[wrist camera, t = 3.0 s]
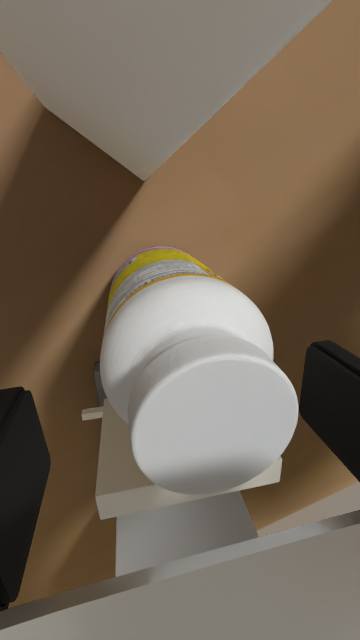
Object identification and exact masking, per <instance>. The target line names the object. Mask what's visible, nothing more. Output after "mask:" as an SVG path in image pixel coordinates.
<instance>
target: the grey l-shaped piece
mask: <svg viewBox="0 0 360 640" xmlns="http://www.w3.org/2000/svg"><path fill="white" fill-rule="evenodd" d="M93 372H94V378H95V383H96V388H97V393H98V398H99V404H100V407H102V406H104V399H107V396H106V394H105V392H104V389H103V386H102V381H101V376H100V362H97V363H95V365H94V371H93ZM254 538H258V534H257V532H256V529H255V527H254V524H253V522H252V519H251V517H250V514H249V512H248V510H247V507H246V505H245V502H244V500H243V497H242V495H241V492H240V490H239V491H235V492H230V493H225V494H221V495H216V496H211V497H206V498H202V499H197V500H192V501H188V502H183V503H178V504H174V505H169V506H164V507H160V508H155V509H150V510H145V511H141V512H136V513H131V514H127V515H122V516H117V523H116V577H118V576H121V575H125V574H128V573H132V572H135V571H139V570H143V569H146V568H150V567H153V566H157V565H160V564H164V563H168V562H171V561H175V560H178V559H182V558H186V557H189V556H193V555H196V554H200V553H203V552H207V551H211V550H214V549H218V548H221V547H225V546H229V545H232V544H236V543H240V542H243V541H247V540H251V539H254Z"/></svg>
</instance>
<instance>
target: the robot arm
mask: <svg viewBox="0 0 360 640" xmlns="http://www.w3.org/2000/svg"><path fill="white" fill-rule="evenodd" d="M299 411H300V415H301V417H302V418H303V419H304V420H305V421H306V423H307V424H308V425H309V426H310V427H311V428H312V429H313V430H314V432H315V433H316V434H317V435H318V436H319V437H320V438H321V439H322V440H323V442H324V443H325V444H326V445H327V446H328V447H329V448H330V449H331V451H332V452H333V453H334V454H335V455H336V456H337V457H338V458H339V459H340V461H341V462H342V463H343V464H344V465H345V466H346V467H347V468H348V470H349V471H350V472H351V473H352V474H353V475H354V476H355V477H356V478H357V480H358V481H359V482H360V358H358V357H356V356H355V355H353V354H351V353H350V352H348V351H347V350H345V349H343V348H342V347H340V346H338V345H337V344H335V343H333V342H332V341H330V340H326V341H319V342H313V343H312V344H311V345H310V347H308V348H307V351H306V358H305V365H304V373H303V381H302V389H301V397H300V404H299ZM49 470H50V455H49V452H48V448H47V445H46V441H45V438H44V434H43V431H42V427H41V424H40V421H39V417H38V414H37V410H36V407H35V403H34V400H33V397H32V393H31V392H30V391H29V390H27V391H25V390H24V388H23V387H15V388H8V389H2V390H0V640H360V510H358V511H354V512H351V513H346V514H343V515H339V516H335V517H331V518H328V519H324V520H321V521H317V522H313V523H310V524H306V525H302V526H299V527H295V528H291V529H287V530H284V531H280V532H276V533H273V534H269V535H265V536H262V537H258V538H254V539H251V540H247V541H243V542H240V543H236V544H232V545H229V546H225V547H221V548H218V549H214V550H211V551H207V552H203V553H200V554H196V555H193V556H189V557H186V558H182V559H178V560H175V561H171V562H168V563H164V564H160V565H157V566H153V567H150V568H146V569H143V570H139V571H135V572H132V573H128V574H125V575H121V576H118V577H114V578H110V579H107V580H103V581H100V582H96V583H93V584H89V585H86V586H83V587H79V588H76V589H73V590H69V591H66V592H63V593H59V594H56V595H53V596H49V597H46V598H42V599H39V600H36V601H32V602H29V603H26V604H22V605H19V606H16V607H12V608H9V609H8V606H9V603H10V602H14V601H15V600H16V598H17V596H18V593H19V590H20V586H21V582H22V578H23V574H24V570H25V566H26V562H27V558H28V554H29V550H30V546H31V542H32V538H33V534H34V530H35V526H36V522H37V518H38V514H39V510H40V506H41V502H42V498H43V494H44V490H45V486H46V482H47V478H48V474H49Z"/></svg>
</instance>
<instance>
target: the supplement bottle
mask: <svg viewBox="0 0 360 640" xmlns="http://www.w3.org/2000/svg"><path fill="white" fill-rule="evenodd" d="M100 376H101V381H102V386H103V389H104V392H105V394H106V396H107V399H108V401H109V402H110V404H111V406H112V407H113V409H114V410H115V411H116V412H117V414H118V415H119V416H120V417H121V418H122V419H123V420H124V421H125V422H126V423H128V424H129V434H130V445H131V450H132V454H133V457H134V459H135V461H136V464H137V466H138V467H139V469H140V470H141V471H142V473H143V474H144V475H145V476H146V477H147V478H148V479H149V480H150V481H152V482H153V483H155V484H156V485H158V486H160V487H162V488H164V489H166V490H169V491H172V492H176V493H180V494H185V495H208V494H213V493H219V492H223V491H226V490H229V489H232V488H234V487H237V486H239V485H242V484H244V483H246V482H248V481H249V480H251V479H253V478H255V477H256V476H258V475H259V474H261V473H262V472H263V471H265V470H266V469H267V468H269V467H270V466H271V465H272V464H273V463H274V462H275V461H276V460H277V459H278V458H279V457H280V455H281V454H282V453H283V451H284V450H285V448H286V447H287V445H288V444H289V442H290V440H291V438H292V436H293V434H294V431H295V428H296V425H297V420H298V401H297V396H296V393H295V389H294V387H293V385H292V384H291V382H290V380H289V379H288V377H287V376H286V375H285V374H284V372H283V371H282V370H281V369H280V368H279V367H278V366H277V365H276V364H275V363H274V362H273V341H272V337H271V333H270V330H269V326H268V324H267V322H266V320H265V318H264V316H263V315H262V313H261V312H260V310H259V309H258V308H257V306H256V305H255V304H254V303H253V302H252V301H251V300H250V299H249V298H248V297H247V296H246V295H244V294H243V293H242V292H241V291H239V290H238V289H236V288H235V287H233V286H232V285H231V284H229V283H228V282H226V281H225V280H224V279H222V278H221V277H219V276H218V275H217V274H216V273H214V272H213V271H211V270H210V269H209V268H207V267H206V266H205V265H203V264H202V263H200V262H199V261H198V260H196V259H195V258H194V257H192V256H190V255H189V254H187V253H185V252H183V251H181V250H178V249H175V248H171V247H153V248H148V249H145V250H142V251H140V252H138V253H136V254H134V255H133V256H131V257H130V258H128V259H127V260H126V261H125V262H124V263H123V264H122V265H121V267H120V268H119V269H118V271H117V272H116V274H115V276H114V279H113V281H112V284H111V288H110V293H109V300H108V307H107V314H106V322H105V328H104V335H103V341H102V346H101V354H100Z"/></svg>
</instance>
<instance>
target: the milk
mask: <svg viewBox="0 0 360 640" xmlns="http://www.w3.org/2000/svg"><path fill="white" fill-rule="evenodd" d="M331 1H332V0H0V53H1V54H2V55H3V57H4V58H5V59H6V60H7V61H8V63H9V64H10V65H11V66H12V68H13V69H14V70H15V71H16V72H17V74H18V75H19V76H20V77H21V79H22V80H23V81H24V82H25V84H26V85H27V86H28V87H29V88H30V90H31V91H32V92H33V93H34V95H35V96H36V97H37V98H38V100H39V101H40V102H41V103H42V104H43V106H44V107H45V108H47V109H48V110H49V111H50V112H52V113H53V114H54V115H56V116H57V117H59V118H60V119H61V120H63V121H64V122H65V123H67V124H68V125H69V126H71V127H72V128H73V129H75V130H76V131H77V132H79V133H80V134H81V135H83V136H84V137H85V138H87V139H88V140H89V141H91V142H92V143H93V144H95V145H96V146H97V147H99V148H100V149H101V150H103V151H104V152H105V153H107V154H108V155H109V156H111V157H112V158H113V159H115V160H116V161H117V162H119V163H120V164H121V165H123V166H124V167H125V168H127V169H128V170H129V171H131V172H132V173H133V174H135V175H136V176H137V177H139V178H140V179H141V180H143V181H146V180H147V179H148V178H149V177H150V176H151V175H152V174H153V173H154V172H155V171H156V170H157V169H158V168H159V167H160V166H161V165H162V164H163V163H164V162H165V161H166V160H167V159H168V158H169V157H170V156H171V155H173V154H174V153H175V152H176V151H177V150H178V149H179V148H180V147H181V146H182V145H183V144H184V143H185V142H186V141H187V140H188V139H189V138H190V137H191V136H192V135H193V134H194V133H195V132H196V131H197V130H198V129H199V128H201V127H202V126H203V125H204V124H205V123H206V122H207V121H208V120H209V119H210V118H211V117H212V116H213V115H214V114H215V113H216V112H217V111H218V110H219V109H220V108H221V107H222V106H223V105H224V104H225V103H226V102H227V101H228V100H230V99H231V98H232V97H233V96H234V95H235V94H236V93H237V92H238V91H239V90H240V89H241V88H242V87H243V86H244V85H245V84H246V83H247V82H248V81H249V80H250V79H251V78H252V77H253V76H254V75H255V74H256V73H257V72H259V71H260V70H261V69H262V68H263V67H264V66H265V65H266V64H267V63H268V62H269V61H270V60H271V59H272V58H273V57H274V56H275V55H276V54H277V53H278V52H279V51H280V50H281V49H282V48H283V47H284V46H285V45H286V44H288V43H289V42H290V41H291V40H292V39H293V38H294V37H295V36H296V35H297V34H298V33H299V32H300V31H301V30H302V29H303V28H304V27H305V26H306V25H307V24H308V23H309V22H310V21H311V20H312V19H313V18H314V17H316V16H317V15H318V14H319V13H320V12H321V11H322V10H323V9H324V8H325V7H326V6H327V5H328V4H329V3H330V2H331Z"/></svg>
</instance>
